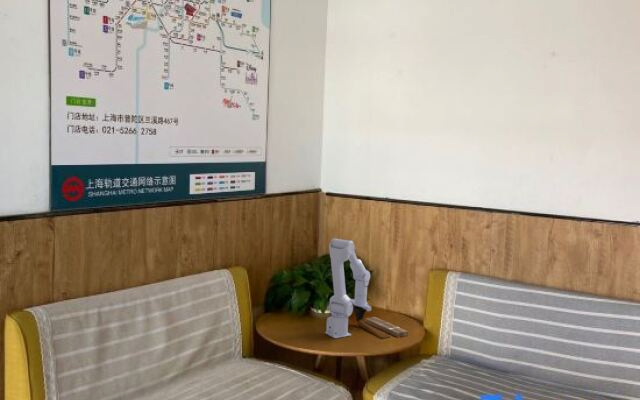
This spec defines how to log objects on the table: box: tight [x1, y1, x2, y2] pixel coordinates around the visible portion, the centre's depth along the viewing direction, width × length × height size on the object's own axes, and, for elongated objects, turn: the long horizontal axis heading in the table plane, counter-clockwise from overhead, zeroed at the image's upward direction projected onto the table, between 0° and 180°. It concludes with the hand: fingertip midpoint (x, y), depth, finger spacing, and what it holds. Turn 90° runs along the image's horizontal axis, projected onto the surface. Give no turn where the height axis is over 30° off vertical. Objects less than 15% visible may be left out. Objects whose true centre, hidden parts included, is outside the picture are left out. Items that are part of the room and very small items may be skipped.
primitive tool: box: [357, 319, 391, 340], centre depth 269 cm, size 19×6×4 cm, turn 39°
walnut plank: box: [364, 316, 409, 338], centre depth 275 cm, size 6×24×2 cm, turn 34°
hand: (359, 321), depth 277 cm, fingers closed
